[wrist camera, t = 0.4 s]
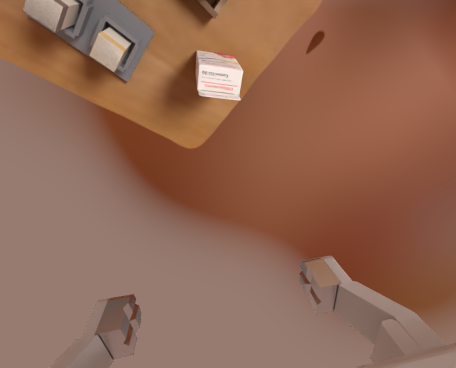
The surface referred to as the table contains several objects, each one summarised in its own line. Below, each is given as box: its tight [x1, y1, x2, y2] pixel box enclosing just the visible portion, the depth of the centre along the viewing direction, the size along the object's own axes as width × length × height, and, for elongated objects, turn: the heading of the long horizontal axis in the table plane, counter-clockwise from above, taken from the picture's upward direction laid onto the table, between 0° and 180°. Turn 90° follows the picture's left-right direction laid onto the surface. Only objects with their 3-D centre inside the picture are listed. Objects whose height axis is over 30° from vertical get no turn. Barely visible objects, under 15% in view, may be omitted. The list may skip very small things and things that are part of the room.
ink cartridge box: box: [196, 51, 243, 100], centre depth 44 cm, size 9×5×15 cm, turn 81°
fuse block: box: [28, 0, 155, 82], centre depth 40 cm, size 12×18×4 cm, turn 49°
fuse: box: [89, 26, 132, 72], centre depth 40 cm, size 4×4×9 cm
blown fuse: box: [23, 0, 83, 33], centre depth 35 cm, size 4×4×9 cm
